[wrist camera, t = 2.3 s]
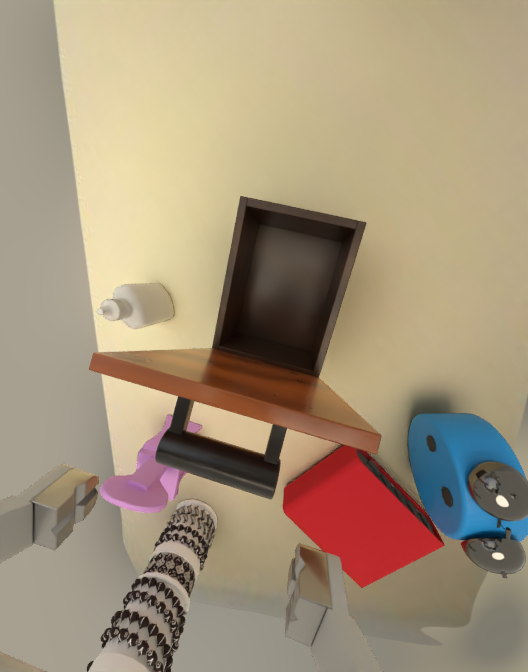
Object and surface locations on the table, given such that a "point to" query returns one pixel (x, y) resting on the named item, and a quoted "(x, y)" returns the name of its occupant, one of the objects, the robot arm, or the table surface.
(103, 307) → the eye dropper bottle
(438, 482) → the alarm clock
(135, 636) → the decorative candle
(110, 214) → the table surface
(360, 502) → the red device housing
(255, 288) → the chest
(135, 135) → the table surface
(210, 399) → the lid
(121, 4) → the table surface
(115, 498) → the toy chair
